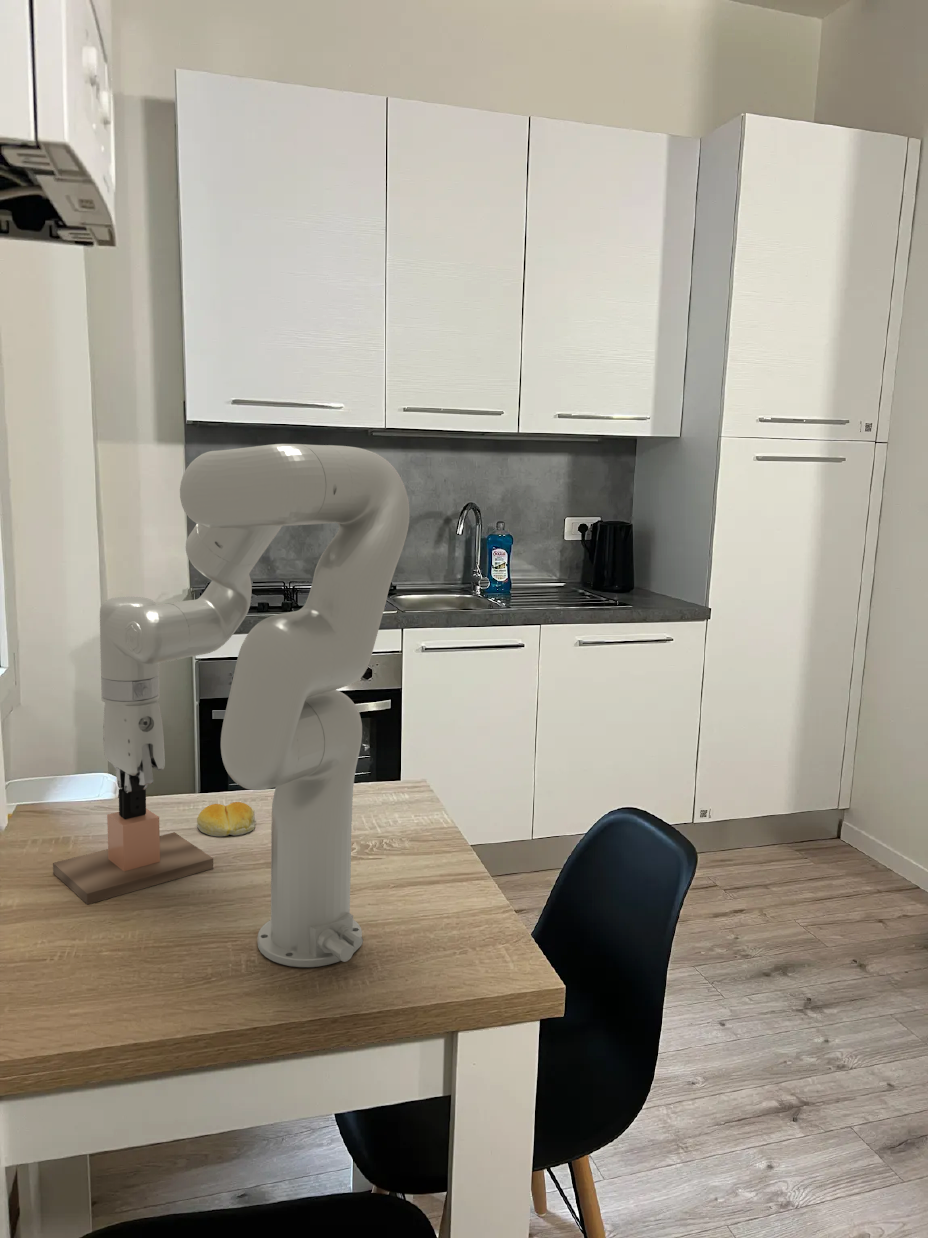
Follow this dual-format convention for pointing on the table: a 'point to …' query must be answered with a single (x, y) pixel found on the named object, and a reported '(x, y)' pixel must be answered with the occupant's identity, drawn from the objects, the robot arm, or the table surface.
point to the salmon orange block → (133, 840)
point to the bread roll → (226, 819)
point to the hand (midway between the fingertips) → (132, 815)
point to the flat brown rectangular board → (105, 880)
